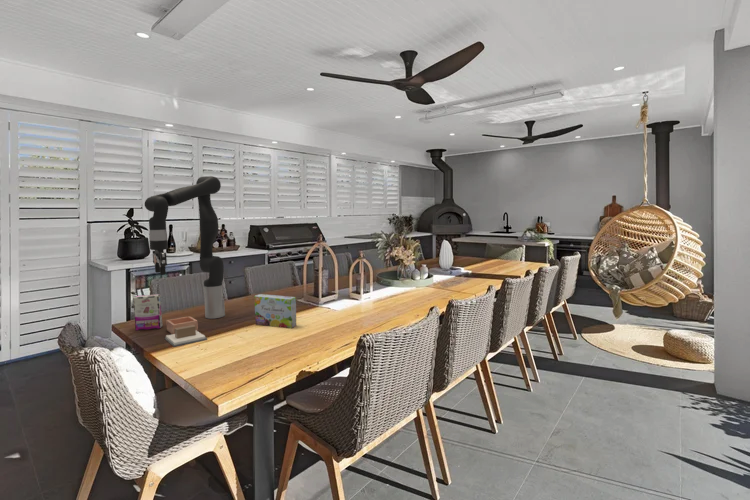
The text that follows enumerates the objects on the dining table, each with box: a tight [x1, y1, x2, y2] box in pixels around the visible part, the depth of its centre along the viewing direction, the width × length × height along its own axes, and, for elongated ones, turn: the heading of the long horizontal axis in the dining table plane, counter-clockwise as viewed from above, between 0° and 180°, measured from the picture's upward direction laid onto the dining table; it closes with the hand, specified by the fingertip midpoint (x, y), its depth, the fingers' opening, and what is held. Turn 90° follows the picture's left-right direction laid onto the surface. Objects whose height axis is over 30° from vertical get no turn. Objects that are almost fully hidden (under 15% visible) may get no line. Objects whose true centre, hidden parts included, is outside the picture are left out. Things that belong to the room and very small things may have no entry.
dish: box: [165, 315, 199, 335], centre depth 198 cm, size 11×11×5 cm
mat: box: [164, 336, 208, 348], centre depth 185 cm, size 14×14×1 cm
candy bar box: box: [132, 293, 163, 331], centre depth 202 cm, size 11×5×16 cm, turn 105°
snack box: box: [253, 293, 297, 330], centre depth 207 cm, size 21×6×15 cm, turn 71°
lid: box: [165, 325, 207, 345], centre depth 185 cm, size 13×13×5 cm
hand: (160, 273), depth 195 cm, fingers open, 8 cm apart
